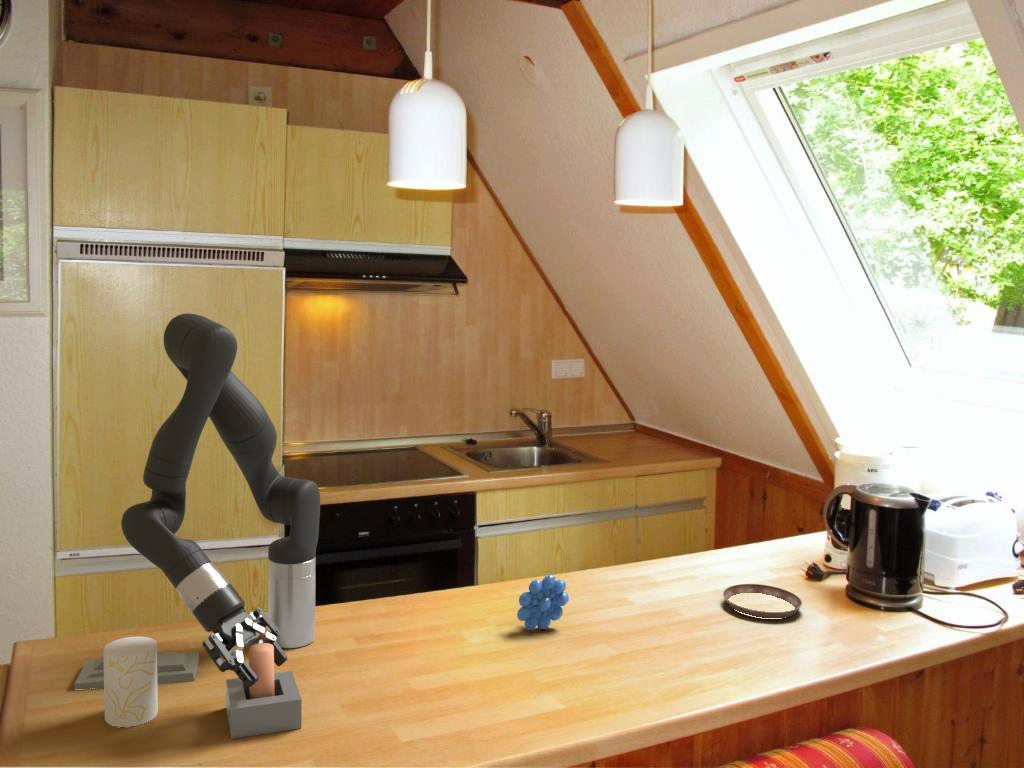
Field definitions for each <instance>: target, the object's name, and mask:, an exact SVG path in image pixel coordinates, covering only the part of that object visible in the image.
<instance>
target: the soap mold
mask: <svg viewBox="0 0 1024 768" xmlns="http://www.w3.org/2000/svg"><path fill="white" fill-rule="evenodd" d="M199 662H200V652H199V651H196V652H194V651H193V652H179V651H172V650H171V651H170V650H169V651H157V685H163V684H164V683H166V684H177V683H187V682H188V681H189V682H195V681H196V679H197V678H196V677H197V673H198V667H199ZM194 680H195V681H194ZM159 683H160V684H159ZM164 685H165V684H164ZM73 687H74V688H73V690H75V689H90V688H91V689H92V688H104V659H103V657H101V658H89V659H88V658H87V659H86V662H85V663H84V665H83V667H82V669H81V670H80V672H79V674H78V676H77V678H76V679H75V682H74V686H73ZM92 690H93V689H92Z"/></svg>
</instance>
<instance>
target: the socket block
mask: <svg viewBox="0 0 1024 768" xmlns="http://www.w3.org/2000/svg"><path fill="white" fill-rule="evenodd" d="M274 691H275V696H271V697H263V698H256V699H250V689H249V687H247V686H246V685H245V684H243V682H242V681H241V680H240V678H239V677H235V678H229V679H225V709H226V715H227V721H228V726H229V732H230V738H231V740H234V739H240V738H246V737H252V736H253V737H254V736H258V735H266V734H272V733H279V732H285V731H286V732H287V731H291V730H299V729H302V711H303V709H302V707H303V706H302V703H303V702H302V697H301V694H300V690H299V688H298V685H297V681H296V677H295V676H294V673H293V671H291V670H290V671H283V672H274Z"/></svg>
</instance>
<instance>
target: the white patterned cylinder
mask: <svg viewBox="0 0 1024 768" xmlns="http://www.w3.org/2000/svg"><path fill="white" fill-rule="evenodd" d="M102 650H103V651H102V654H103V655H102V656H103V657H102V658H103V659H104V689H103V691H104V695H103V699H104V704H103V705H104V722H105V721H106V722H107V723H108V724H110V725H112V726H111V727H113V726H118V727H117V728H120V727H125V728H132V727H131V726H134V727H138V726H141V725H140V724H142V725H144V723H145V724H147V723H148V721H149V722H150V720H151V721H152V720H153V718H154V719H155V718H156V717H157V716H158V714H157V713H159V705H158V704H159V703H158V702H159V701H158V700H159V699H158V698H159V697H158V692H159V691H158V684H157V652H158V643H157V641H156V639H154V638H151V637H147V636H128V637H123V638H118V639H115V640H113V641H111V642H108V643H107V644H106V645H105V646H104V647H103V649H102ZM156 715H157V716H156ZM106 722H105V723H106ZM146 722H147V723H146ZM107 723H106V724H107ZM108 724H107V725H108ZM110 725H109V726H110ZM137 725H138V726H137Z"/></svg>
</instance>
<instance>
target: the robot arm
mask: <svg viewBox="0 0 1024 768" xmlns="http://www.w3.org/2000/svg"><path fill="white" fill-rule="evenodd" d="M163 347H164V350H165V351H164V352H165V353H166V356H167V357H168V358H169V360H170V361H171V362H172V364H173V365H174V366H175V368H176V369H177V370H178V371H179V372H180V373H181V375H182V376H183V377H184V378H185V380H186V381H187V382H186V386H185V389H184V392H183V396H182V398H181V399H180V401H179V403H178V404H177V406H176V407H175V409H174V410H173V411H172V412H171V414H170V415H169V416H168V417H167V418H166V419H165V421H164V422H163V423H162V424H161V425H160V427H159V429H158V430H157V432H156V434H155V436H154V438H153V439H152V443H151V446H150V449H149V452H148V456H147V460H146V462H145V467H144V470H143V475H142V481H143V483H144V485H145V486H146V487H147V488H149V489H150V490H151V497H150V499H149V500H148V501H144V502H141V503H136V504H134V505H131V506H130V507H128V508H127V509H126V510H125V511H124V512H123V514H122V515H121V519H120V520H121V522H120V524H121V531H122V534H123V536H124V538H125V539H126V541H127V542H128V543H129V545H130V546H131V547H132V548H134V550H135V551H137V552H138V554H140V555H142V556H143V557H144V558H146V559H147V560H148V561H149V562H150V563H152V564H153V565H154V566H156V567H157V568H159V570H161V571H162V572H163V574H164V575H165V576H166V578H167V579H168V581H169V582H170V583H171V584H172V586H173V587H174V589H176V591H177V593H178V594H179V596H180V598H181V600H182V602H183V603H184V604H185V606H186V607H187V608H188V610H189V611H190V612H191V613H192V614H193V616H194V617H195V619H196V620H197V621H198V622H199V624H200V625H201V627H202V628H203V629H204V631H205V632H207V633H211V634H210V635H208V636H207V638H205V639H204V640H203V641H202V642H201V643H202V647H203V648H204V650H205V651H206V652H207V654H208V655H209V657H210V658H211V659H212V661H213V663H214V664H215V666H216V667H217V669H218V670H219V671H220V672H221V673H224V672H227V671H231V672H234V673H235V674H236V676H237V678H240V680H241V681H242V682H243V684H245V685H246V686H247V687H251V686H253V685H254V684H255V683H256V682H257V681H258V677H257V676H256V674H255V673H254V672H253V670H252V669H251V668H250V666H249V663H248V662H247V661H246V660H245V661H244V654H243V651H244V648H245V647H246V646H248V645H249V644H250V645H251V646H252V645H255V644H259V643H269V644H272V645H273V646H274V665H276V666H277V667H280V666H283V664H285V663H286V662H287V661H288V656H287V654H286V652H285V651H284V650H283V649H296V648H302V647H305V646H307V645H309V644H312V643H313V642H314V641H315V638H316V566H317V565H316V560H317V559H316V557H317V556H316V554H317V553H316V552H317V546H318V542H319V537H320V536H319V535H320V534H319V533H320V532H319V531H320V518H321V493H320V489H319V486H318V485H317V483H316V482H314V481H313V480H309V479H303V478H296V477H288V476H284V475H281V473H279V471H278V470H277V469H276V467H275V464H274V463H273V460H272V459H273V456H274V453H275V450H276V447H277V441H278V435H277V433H278V432H277V431H276V427H275V426H274V423H273V421H272V419H271V418H270V416H269V414H268V412H267V410H266V408H265V407H264V406H263V404H262V403H261V401H260V400H259V398H257V397H256V395H255V394H254V393H253V392H252V391H251V390H250V389H249V388H248V387H247V386H246V384H244V383H243V382H242V380H241V379H239V378H238V377H237V376H236V374H235V373H234V372H233V371H232V369H233V368H232V367H233V365H234V363H235V361H236V357H237V353H238V341H237V338H236V336H235V334H234V333H233V332H232V331H231V330H230V329H229V328H228V327H226V326H224V325H222V324H221V323H218V322H216V321H214V320H212V319H210V318H208V317H206V316H203V315H201V314H197V313H188V312H187V313H181V314H178V315H176V316H175V317H173V318H171V319H170V321H169V322H168V324H167V325H166V328H165V329H164V332H163ZM208 419H210V421H211V422H212V424H213V425H214V428H215V429H216V432H217V433H218V435H219V437H220V439H221V440H222V442H223V444H224V446H225V447H226V449H227V450H228V451H229V453H230V454H231V455H232V458H233V459H234V461H235V463H236V465H238V468H239V470H240V472H241V473H242V475H243V477H244V478H245V481H246V483H247V485H248V486H249V490H250V491H251V494H252V497H253V499H254V501H255V504H256V506H257V508H258V510H259V512H260V513H261V515H262V516H263V517H264V519H265V520H267V521H269V522H272V523H276V524H281V525H282V524H283V525H288V526H290V529H289V530H290V531H289V536H286V537H282V538H278V539H276V540H274V541H272V542H271V543H270V544H269V545H268V549H267V559H268V560H267V561H268V563H267V564H268V566H267V568H268V569H267V570H268V575H267V576H268V577H267V578H268V579H267V581H268V585H267V586H268V590H267V591H268V594H267V595H268V597H267V598H268V600H267V604H268V607H267V610H268V615H267V613H266V612H265V611H264V610H263V609H262V608H261V607H259V606H257V607H255V609H253V610H252V611H251V612H250V613H248V612H247V611H246V610H245V605H246V603H245V600H244V599H243V598H242V597H241V595H240V594H239V593H238V591H237V590H236V589H235V588H234V586H233V585H232V584H231V583H230V581H229V579H227V578H226V576H225V575H224V573H223V572H222V571H221V570H220V568H218V567H217V566H216V565H215V564H214V563H213V562H212V561H211V559H210V558H209V557H208V556H207V554H206V553H205V552H204V550H203V549H202V547H200V545H199V544H198V543H197V542H196V541H194V540H192V539H187V538H180V537H178V536H177V535H176V533H177V532H178V531H179V530H180V529H181V526H182V524H183V521H184V518H185V513H186V498H187V497H186V496H187V488H186V487H187V486H186V485H187V481H188V477H189V473H190V471H191V466H192V463H193V461H194V457H195V452H196V450H197V447H198V443H199V440H200V437H201V434H202V432H203V430H204V427H205V425H206V423H207V421H208ZM221 657H222V658H223V659H222V658H221ZM223 660H224V661H223Z"/></svg>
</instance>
